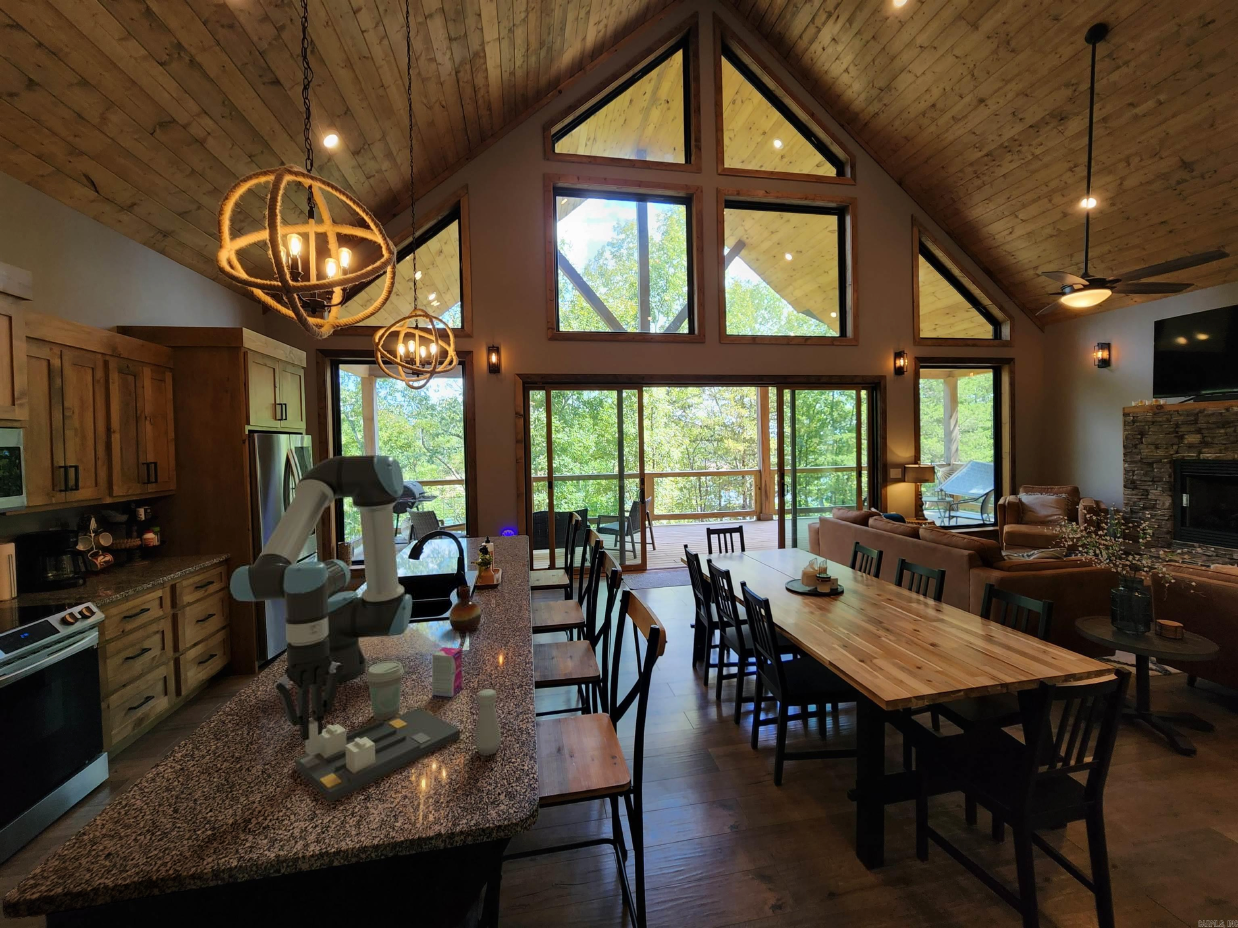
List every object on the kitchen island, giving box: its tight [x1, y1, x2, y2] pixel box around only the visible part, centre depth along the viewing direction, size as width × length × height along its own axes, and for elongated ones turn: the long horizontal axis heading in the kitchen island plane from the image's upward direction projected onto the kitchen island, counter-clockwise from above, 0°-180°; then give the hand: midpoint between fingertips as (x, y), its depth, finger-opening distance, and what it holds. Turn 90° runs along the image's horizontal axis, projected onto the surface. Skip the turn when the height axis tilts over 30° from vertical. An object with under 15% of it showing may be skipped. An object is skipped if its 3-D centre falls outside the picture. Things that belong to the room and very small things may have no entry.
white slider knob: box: [318, 723, 347, 758], centre depth 113 cm, size 4×4×5 cm
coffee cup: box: [365, 660, 405, 721], centre depth 133 cm, size 8×8×12 cm
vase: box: [448, 585, 482, 633], centre depth 195 cm, size 11×11×15 cm
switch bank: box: [294, 706, 461, 804], centre depth 116 cm, size 17×28×3 cm, turn 140°
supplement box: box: [432, 646, 463, 699], centre depth 144 cm, size 6×6×12 cm
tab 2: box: [346, 737, 375, 773], centre depth 108 cm, size 4×4×5 cm
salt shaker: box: [473, 688, 502, 757], centre depth 116 cm, size 6×6×13 cm
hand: (312, 751), depth 110 cm, fingers closed
